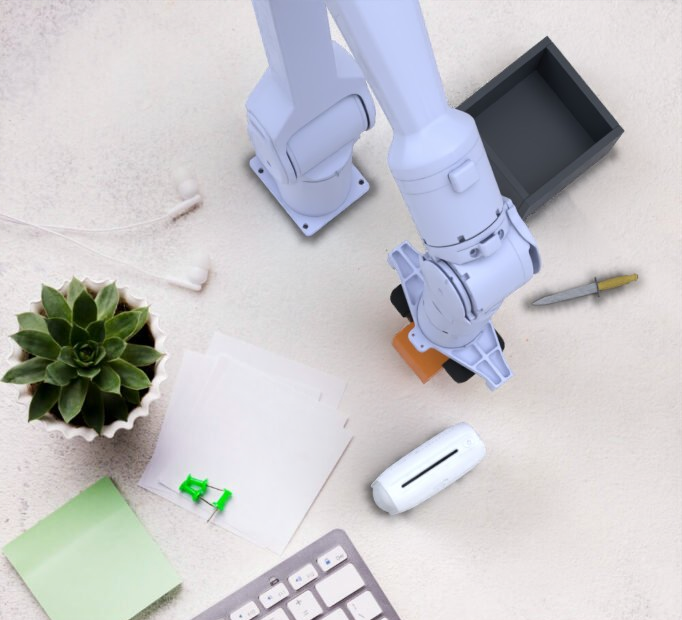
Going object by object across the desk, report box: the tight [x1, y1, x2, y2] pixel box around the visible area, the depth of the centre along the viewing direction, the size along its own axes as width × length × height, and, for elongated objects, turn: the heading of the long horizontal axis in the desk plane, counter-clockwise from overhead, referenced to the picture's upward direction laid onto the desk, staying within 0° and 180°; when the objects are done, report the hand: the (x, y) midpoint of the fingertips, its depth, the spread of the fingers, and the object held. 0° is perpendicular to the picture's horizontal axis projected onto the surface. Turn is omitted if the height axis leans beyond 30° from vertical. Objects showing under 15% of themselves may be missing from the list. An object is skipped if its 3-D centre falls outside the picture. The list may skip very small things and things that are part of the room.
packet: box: [391, 321, 449, 385], centre depth 80 cm, size 5×7×4 cm
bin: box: [454, 35, 625, 221], centre depth 82 cm, size 12×12×5 cm
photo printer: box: [370, 421, 487, 516], centre depth 78 cm, size 10×4×12 cm, turn 123°
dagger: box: [532, 273, 639, 306], centre depth 84 cm, size 11×1×2 cm
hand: (437, 338), depth 81 cm, fingers closed on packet, 5 cm apart
